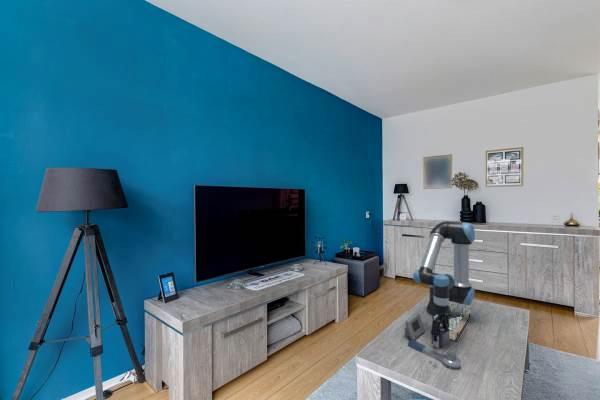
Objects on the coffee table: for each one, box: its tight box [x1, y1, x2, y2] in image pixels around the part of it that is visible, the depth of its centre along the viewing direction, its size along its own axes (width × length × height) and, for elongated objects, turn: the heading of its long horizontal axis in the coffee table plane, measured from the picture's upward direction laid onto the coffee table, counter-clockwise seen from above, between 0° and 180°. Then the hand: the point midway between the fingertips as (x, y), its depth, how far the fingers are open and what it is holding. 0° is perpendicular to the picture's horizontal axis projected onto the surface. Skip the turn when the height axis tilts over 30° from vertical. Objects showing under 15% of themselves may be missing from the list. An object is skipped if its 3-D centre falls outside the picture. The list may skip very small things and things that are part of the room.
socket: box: [431, 326, 450, 349], centre depth 154 cm, size 6×6×9 cm
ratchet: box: [407, 339, 461, 370], centre depth 143 cm, size 8×26×6 cm, turn 37°
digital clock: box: [404, 312, 425, 341], centre depth 164 cm, size 16×9×11 cm, turn 123°
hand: (440, 343), depth 154 cm, fingers open, 9 cm apart
